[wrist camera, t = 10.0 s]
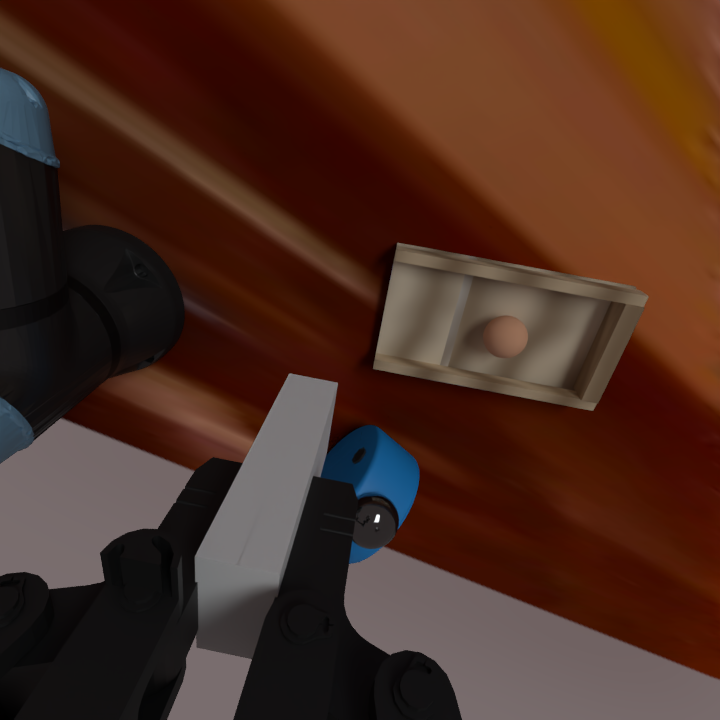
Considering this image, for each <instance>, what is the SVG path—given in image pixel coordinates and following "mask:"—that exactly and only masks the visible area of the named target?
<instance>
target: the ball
mask: <svg viewBox="0 0 720 720" xmlns="http://www.w3.org/2000/svg"><path fill="white" fill-rule="evenodd" d="M483 341H484V345H485V347H486V349H487V350H488V351H489V352H490V353H491V354H492V355H494V356H496V357H499V358H511V357H514V356H516V355H518V354H519V353H521V352H522V351H523V349H524V348H525V346H526V344H527V341H528V332H527V329H526V327H525V325H524V324H523V323H522V322H521V321H520V320H519V319H517V318H515V317H512V316H499V317H496V318H494V319H493V320H491V321H490V322H489V323H488V324H487V326H486V328H485V330H484V333H483Z"/></svg>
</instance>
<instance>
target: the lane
mask: <svg viewBox="0 0 720 720" xmlns="http://www.w3.org/2000/svg"><path fill="white" fill-rule="evenodd" d="M648 297H649V296H648V295H646V294H645V293H643V292H642V291H640V290H636V287H635V286H630V285H625V284H619V283H614V282H608V281H603V280H598V279H592V278H587V277H581V276H576V275H570V274H565V273H560V272H554V271H549V270H543V269H538V268H532V267H527V266H522V265H516V264H511V263H505V262H500V261H494V260H489V259H484V258H478V257H473V256H467V255H462V254H456V253H451V252H446V251H440V250H435V249H429V248H424V247H418V246H413V245H408V244H402V243H397V247H396V252H395V257H394V262H393V267H392V273H391V278H390V283H389V288H388V293H387V298H386V303H385V308H384V314H383V319H382V324H381V329H380V334H379V339H378V344H377V349H376V354H375V360H374V366H373V369H376V370H382V371H387V372H392V373H397V374H403V375H408V376H413V377H418V378H424V379H429V380H434V381H439V382H445V383H450V384H455V385H460V386H465V387H471V388H476V389H481V390H486V391H492V392H497V393H502V394H507V395H513V396H518V397H523V398H528V399H533V400H539V401H544V402H549V403H554V404H560V405H565V406H570V407H575V408H581V409H586V410H591V411H593V410H594V408H595V406H596V404H597V403H598V402H599V400H600V398H601V396H602V394H603V392H604V390H605V388H606V386H607V384H608V382H609V380H610V378H611V376H612V374H613V372H614V370H615V367H616V365H617V363H618V361H619V359H620V357H621V355H622V353H623V351H624V349H625V347H626V345H627V343H628V341H629V339H630V337H631V335H632V333H633V331H634V329H635V326H636V324H637V322H638V320H639V318H640V316H641V314H642V312H643V310H644V305H645V303H646V301H647V299H648ZM499 316H512V317H515V318H517V319H519V320H520V321H521V322H522V323H523V324H524V325H525V327H526V329H527V332H528V341H527V344H526V346H525V348H524V349H523V351H522V352H521V353H519V354H518V355H516V356H514V357H511V358H499V357H496V356H494V355H492V354H491V353H490V352H489V351H488V350H487V349H486V347H485V345H484V341H483V333H484V330H485V328H486V326H487V324H488V323H489V322H490V321H491V320H493V319H494V318H496V317H499Z"/></svg>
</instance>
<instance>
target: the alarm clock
mask: <svg viewBox="0 0 720 720" xmlns="http://www.w3.org/2000/svg"><path fill="white" fill-rule="evenodd" d="M320 477H321V478H326V479H331V480H336V481H341V482H346V483H351V484H353V487H354V490H355V493H356V496H357V498H358V507H357V513H356V520H355V526H354V533H353V540H352V546H351V553H350V560H349V564H351V563H357V562H360V561H362V560H365V559H366V558H368V557H370V556H371V555H373V554H374V553H375V552H377V551H378V550H379V549H380V548H382V547H383V546H385V545H386V544H388V543H389V542H390V541H391V540H392V539H393V537H394V536H395V535H396V532H397V530H398V529H399V527H400V526H401V524H402V523H403V521H404V520H405V518H406V516H407V514H408V513H409V511H410V509H411V506H412V504H413V502H414V499H415V496H416V493H417V490H418V485H419V468H418V464H417V462H416V460H415V459H414V457H413V456H412V455H410V454H409V453H408V452H407V451H406V450H405V449H403V448H402V447H401V446H400V445H399V444H398V443H396V442H395V441H394V440H393V439H392V438H390V437H389V436H388V435H387V434H386V433H385V432H383V431H382V430H381V429H380V428H379V427H377V426H375V425H366V426H363V427H360V428H358V429H356V430H354V431H353V432H351V433H350V434H348V435H347V436H346V437H344V438H343V439H342V440H341V441H340V442H339V443H337V444H336V445H335V446H334V447H333V448H332V450H331V451H330V452H329V453H328V454H327V455H326V458H325V461H324V465H323V469H322V472H321V476H320Z"/></svg>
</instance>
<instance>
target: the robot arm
mask: <svg viewBox="0 0 720 720" xmlns="http://www.w3.org/2000/svg"><path fill="white" fill-rule="evenodd" d="M57 168H60V163H59V160H58V159H57V158H56V157H55V151H54V145H53V140H52V134H51V127H50V120H49V113H48V109H47V106H46V104H45V101H44V99H43V98H42V96H41V94H40V93H39V92H38V91H37V89H36V88H35V87H34V86H33V85H32V84H30V83H29V82H28V81H27V80H25V79H24V78H22V77H21V76H19V75H17V74H15V73H12V72H10V71H7V70H5V69H2V68H0V463H2V462H3V461H5V460H6V459H7V458H9V457H10V456H12V455H13V454H14V453H16V452H17V451H20V450H22V449H25V448H27V447H28V446H29V445H31V444H32V442H33V441H34V440H35V439H36V438H37V437H38V436H40V435H41V434H42V433H43V432H44V431H46V430H47V429H48V428H49V427H50V426H52V425H53V424H54V423H55V422H56V421H58V420H59V419H60V418H61V417H62V416H64V415H65V414H66V413H67V412H68V411H70V410H71V409H72V408H73V407H74V406H76V405H77V404H78V403H79V402H80V401H82V400H83V399H84V398H85V397H86V396H88V395H89V394H90V393H91V392H92V391H93V390H95V389H96V388H97V387H98V386H99V385H100V384H102V383H103V382H104V381H105V380H107V379H108V378H111V377H115V376H118V375H122V374H125V373H129V372H132V371H136V370H139V369H143V368H145V367H148V366H150V365H152V364H153V363H155V362H156V361H158V360H159V359H160V358H162V357H163V356H164V355H165V354H166V353H167V352H168V351H169V350H170V349H171V348H172V347H173V346H174V345H175V344H176V342H177V341H178V339H179V337H180V335H181V332H182V329H183V325H184V303H183V298H182V294H181V291H180V288H179V286H178V283H177V281H176V279H175V277H174V275H173V274H172V272H171V271H170V269H169V268H168V266H167V265H166V264H165V262H164V261H163V260H162V259H161V258H160V256H159V255H158V254H157V253H156V252H155V251H153V250H152V249H151V248H150V247H149V246H148V245H146V244H145V243H144V242H142V241H141V240H139V239H138V238H136V237H134V236H132V235H131V234H129V233H126V232H124V231H122V230H119V229H116V228H113V227H108V226H102V225H85V226H80V227H76V228H73V229H69V230H66V231H63V230H62V218H61V206H60V195H59V183H58V171H57ZM337 386H338V383H336V382H331V381H326V380H321V379H315V378H310V377H305V376H300V375H295V374H290V373H289V375H288V377H287V379H286V381H285V383H284V385H283V387H282V389H281V391H280V393H279V394H278V396H277V398H276V400H275V402H274V404H273V406H272V408H271V410H270V412H269V414H268V416H267V418H266V420H265V422H264V423H263V425H262V427H261V429H260V431H259V433H258V435H257V437H256V439H255V441H254V443H253V445H252V447H251V449H250V451H249V453H248V454H247V456H246V458H245V460H244V462H243V463H239V462H234V461H229V460H224V459H219V458H214V457H213V458H211V459H210V460H209V461H207V462H206V463H204V464H203V465H202V466H200V467H199V468H198V469H196V470H195V472H194V473H193V475H192V476H191V478H190V480H189V481H188V483H187V484H186V486H185V489H183V490H182V492H181V494H180V495H179V497H178V498H177V501H176V503H174V504H173V506H172V507H171V509H170V511H169V512H168V514H167V515H166V517H165V518H164V520H163V521H162V523H161V524H160V526H159V528H158V529H140V530H136V531H132V532H128V533H126V534H125V535H122V536H120V537H119V538H117V539H115V540H113V541H112V542H111V543H110V544H109V545H108V546H107V547H106V548H104V550H103V551H102V552H100V555H101V561H102V567H103V573H104V579H105V581H104V582H101V583H97V584H91V585H86V586H76V587H67V588H58V589H48V585H47V583H46V582H45V581H44V580H43V579H42V578H40V576H38V575H34V574H31V573H27V572H20V573H10V574H5V575H3V576H0V720H167V718H168V716H169V713H170V711H171V708H172V706H173V704H174V701H175V699H176V696H177V694H178V692H179V689H180V687H181V685H182V682H183V678H184V674H185V670H186V657H187V654H188V652H189V650H190V647H191V645H192V643H193V640H194V638H195V636H196V639H197V648H202V649H207V650H211V651H216V652H221V653H226V654H231V655H235V656H240V657H245V658H250V659H252V661H251V665H250V668H249V671H248V674H247V677H246V681H245V684H244V687H243V690H242V694H241V697H240V700H239V703H238V706H237V710H236V713H235V716H234V719H233V720H462V718H461V715H460V711H459V707H458V703H457V700H456V696H455V693H454V690H453V688H452V685H451V683H450V681H449V679H448V676H447V674H446V673H445V672H444V671H443V670H442V669H441V667H440V666H439V665H438V664H437V663H436V662H435V661H434V660H432V659H431V658H429V657H427V656H426V655H424V654H422V653H420V652H413V651H408V650H405V651H401V652H397V653H394V654H391V655H389V654H387V653H386V652H384V651H382V650H380V649H379V648H377V647H375V646H374V645H372V644H371V643H369V642H368V641H366V640H365V639H364V638H362V637H361V636H360V635H359V634H358V633H357V632H356V630H355V629H354V628H353V627H352V626H351V624H350V621H349V620H348V618H347V616H346V611H345V607H344V593H345V586H346V579H347V572H348V566H349V560H350V553H351V546H352V540H353V533H354V526H355V520H356V513H357V507H358V498H357V496H356V493H355V490H354V487H353V484H351V483H346V482H341V481H336V480H331V479H326V478H321V477H320V476H321V472H322V469H323V465H324V461H325V458H326V454H327V449H328V442H329V436H330V430H331V423H332V417H333V411H334V405H335V398H336V392H337Z"/></svg>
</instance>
